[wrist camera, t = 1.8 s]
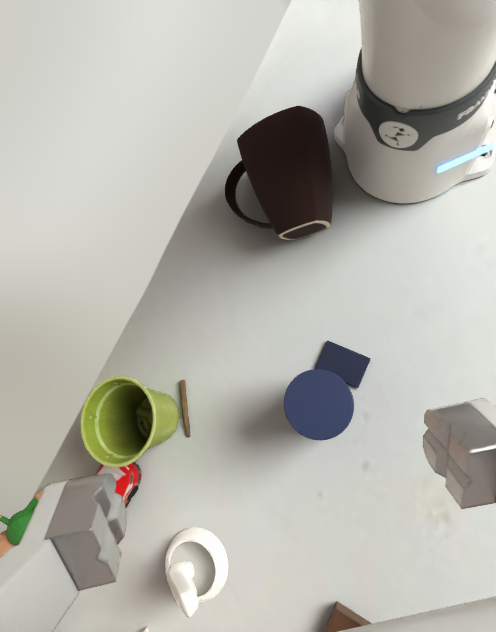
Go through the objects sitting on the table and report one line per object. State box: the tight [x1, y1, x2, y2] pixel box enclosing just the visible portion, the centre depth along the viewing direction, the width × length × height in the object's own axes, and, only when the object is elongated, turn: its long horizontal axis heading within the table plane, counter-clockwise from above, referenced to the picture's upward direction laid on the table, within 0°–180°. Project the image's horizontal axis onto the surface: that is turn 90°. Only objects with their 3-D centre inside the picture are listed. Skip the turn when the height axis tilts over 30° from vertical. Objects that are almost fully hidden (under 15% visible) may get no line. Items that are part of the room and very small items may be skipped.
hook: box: [165, 527, 228, 618], centre depth 42 cm, size 8×12×7 cm
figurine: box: [0, 489, 44, 558], centre depth 49 cm, size 4×7×12 cm
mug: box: [225, 106, 332, 240], centre depth 47 cm, size 10×14×12 cm
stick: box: [180, 380, 190, 437], centre depth 49 cm, size 7×1×1 cm, turn 8°
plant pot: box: [81, 376, 179, 467], centre depth 46 cm, size 9×9×9 cm
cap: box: [284, 341, 370, 440], centre depth 40 cm, size 10×6×9 cm, turn 154°
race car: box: [96, 462, 141, 509], centre depth 47 cm, size 13×5×4 cm, turn 148°
